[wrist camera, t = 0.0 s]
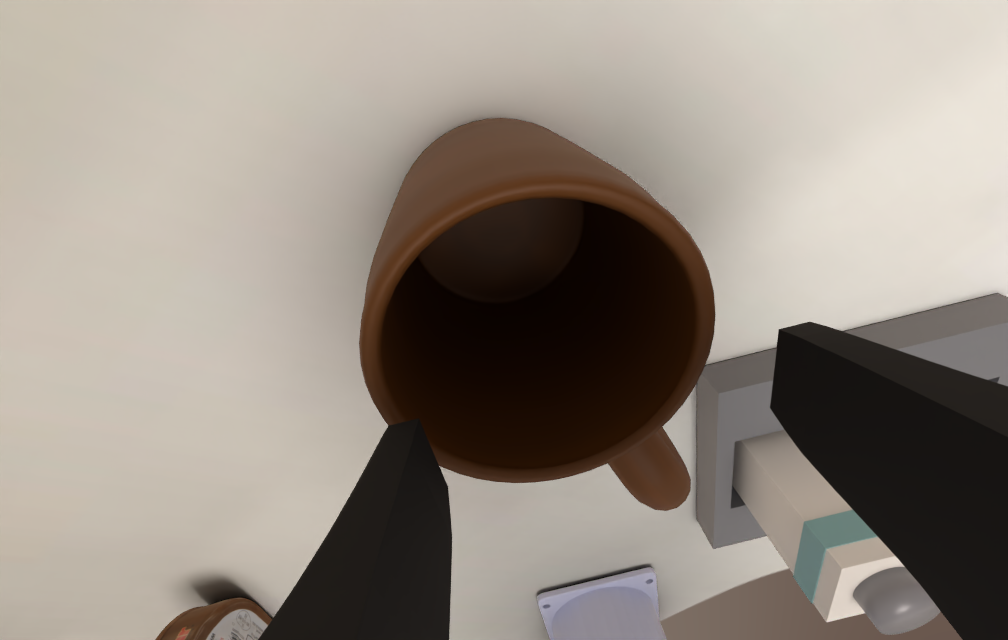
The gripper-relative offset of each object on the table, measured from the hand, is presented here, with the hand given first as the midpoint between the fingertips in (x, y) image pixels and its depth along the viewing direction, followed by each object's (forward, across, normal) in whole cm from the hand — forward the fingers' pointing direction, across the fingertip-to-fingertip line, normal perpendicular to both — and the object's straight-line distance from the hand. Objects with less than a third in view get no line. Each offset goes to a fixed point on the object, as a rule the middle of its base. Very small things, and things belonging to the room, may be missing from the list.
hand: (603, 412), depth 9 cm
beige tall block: (+10, -10, +14) cm, 20 cm away
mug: (+10, 0, +1) cm, 10 cm away
